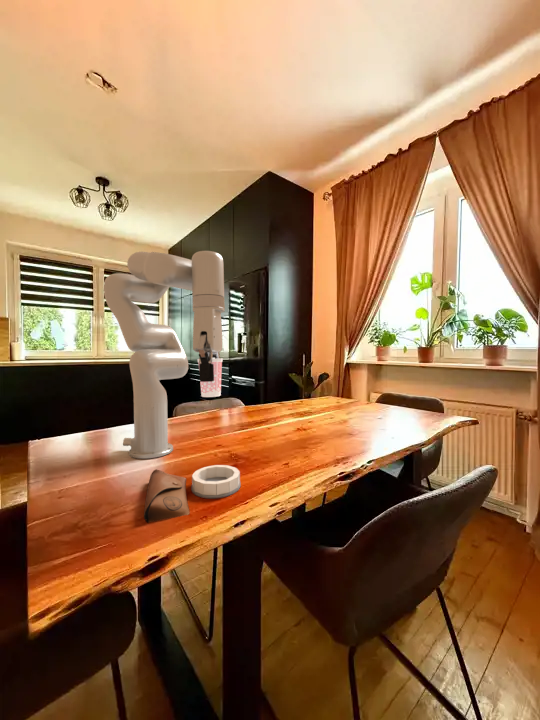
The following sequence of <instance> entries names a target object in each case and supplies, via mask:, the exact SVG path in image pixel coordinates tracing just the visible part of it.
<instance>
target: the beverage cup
mask: <svg viewBox="0 0 540 720" xmlns="http://www.w3.org/2000/svg"><path fill="white" fill-rule="evenodd" d="M196 360H197V363H199V358H197V359H196ZM223 360H224V358H222V357H220V358H218V359H215V358H212V364H214V381H212V382H201V381H200V380H199V382H200V383H199V384H200V394H201V395H200V397H202V398H216V397H220V396H222V394H221V393H222V373H223V370H222V368H223V367H222V366H223V362H224V361H223Z"/></svg>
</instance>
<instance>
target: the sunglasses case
mask: <svg viewBox="0 0 540 720" xmlns="http://www.w3.org/2000/svg"><path fill="white" fill-rule="evenodd" d="M186 483H187V478H186V477H184V476H180V475H175V474H170V473H167V472H164V471H162V470H160V469H158V468H157V469H154V470H153V471H152V472H151V474H150V477H149V480H148V486H147V490H146V491H147V492H146V497H145V503H144V510H143V511H144V513H143V517H144V519H143V520H145V522H146V523H153V522H158V521H163V520H168V519H173V518H174V519H175V518H179V517H182V516H188V515H190V513H191V512H190V508H189V507H190V506H189V504H188V498H187V487H186Z"/></svg>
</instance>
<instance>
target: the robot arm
mask: <svg viewBox="0 0 540 720" xmlns="http://www.w3.org/2000/svg"><path fill="white" fill-rule="evenodd" d="M126 264H127V268H128V271H129V273H130V274H128V273H121V272H119V273H118V272H116V273H112V274H109V275H108V276H107V277H105V280H104V283H103V293H104V294H103V295H104V298H105V301H106V304H107V306H108V308H109V310H110V311H111V312H112V315H114V317H115V319H116V320H117V323H118V326H119V329H120V330H121V333H122V336H123V339H124V341H125V344H126V345H127V347H128V349H129V350H130V351H132V352H133V353H132V355H131V356H130V358H129V363H128V365H129V370H130V375H131V382H132V391H133V421H134V422H133V426H134V430H133V431H134V434H133V435H134V437H133V438H132V437H124V438H123V440H122V446H123V447H129V446H130V449H129V450H128V455H129V457H131V458H135V459H147V460H148V459H154V458H160V457H163V456H166V455H168V454H171V453H172V452H173V451H174V445H173V444H172V443H169V442H168V441H169V435H168V433H169V432H168V395H167V390H166V388H165V387H164V386H163V385H162V383H161V382H160V381H161V380H174V379H180V378H183V377H184V376H186V374H187V373H188V370H189V360H188V357H187V354H186V351H185V349H184V348H183V346H182V343H181V341H180V339H179V337H178V335H177V333H176V331H175V330H174V329H173V327H171V326H169V325H166V324H159V323H157V324H156V323H151V322H150V321H148V319H147V317H146V314H145V312H144V311H143V310H142V309H141V308H140V307H139V306H138V305H137V304H136V303H134V302H139V303H146V304H154V303H157V302H159V301H160V300H161V298H163V296H164V294H166V292H167V291H168V289H170V288H177V289H181V290H187V291H192V292H191V293H192V295H191V296H192V312H193V313H194V314H193V324H192V325H193V328H192V331H193V332H192V350H193V351H194V352H195V353H198V359H199V362H198V371H199V372H198V373H199V382H200V381H201V382H212V381H214V364H212V358H215V359H218V358H221V355H220V353H221V351H222V350H223V327H222V314H223V313H225V309H226V308H225V274H224V273H225V271H224V267H225V266H224V259H223V256H222V255H221V254H220V253H218V252H216V251H213V250H212V251H211V250H200V251H196V252H195V253H193V254H192V257H191V259H189V258H185V257H182V256H178V255H173V254H170V253H166V252H165V253H163V252H156V251H150V252H148V251H136V252H134V253H132V254H131V255H130V256H129V257H128V259H127V263H126Z"/></svg>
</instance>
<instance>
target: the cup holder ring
mask: <svg viewBox="0 0 540 720" xmlns="http://www.w3.org/2000/svg"><path fill="white" fill-rule="evenodd" d="M191 483H192V484H191V493H192V494H193V495H195V496H197V497H200V498H202V499H221V498H226V497H230V496H232V495H233V494H235V493H237V492H238V491H239V490H240V488H241V471H240V470H239V469H238V468H237V467H235V466H231V465H227V464H214V465H208V466H204V467H201V468H199V469H197V470H195V471H194V472H193V474H192V475H191Z"/></svg>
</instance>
